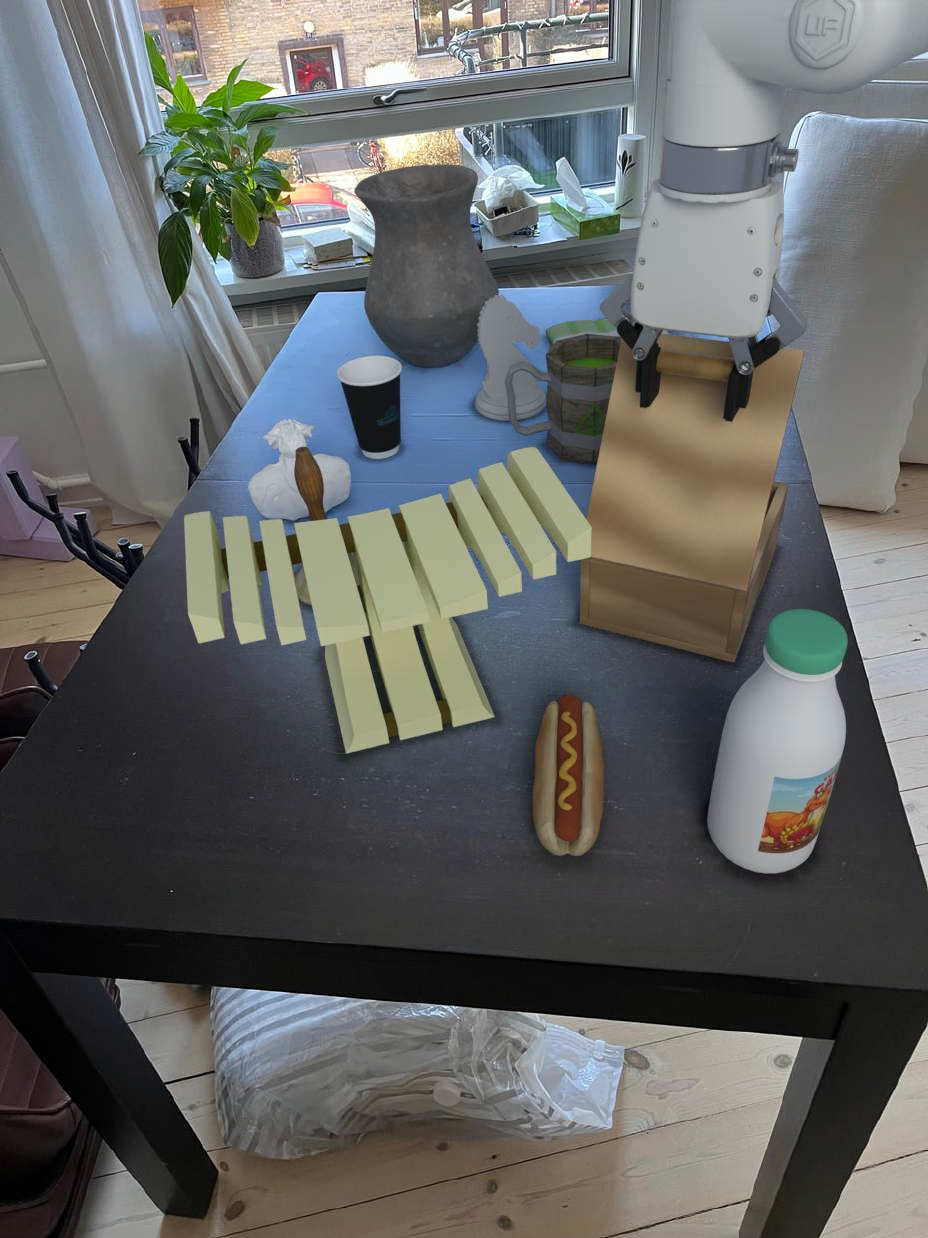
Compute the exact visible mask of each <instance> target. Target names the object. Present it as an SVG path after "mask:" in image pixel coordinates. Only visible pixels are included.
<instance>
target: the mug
mask: <svg viewBox="0 0 928 1238" xmlns="http://www.w3.org/2000/svg"><path fill="white" fill-rule="evenodd" d="M621 339H622V338H621V337H616V336H606V335H596V334H584V335H579V336H575V337H571V338H567V339H562V340H558V341H556V342H555V343H554V345H551V347H550V348H549V350H548V351H547V352H546V354H545V363H546V370H547V371H541V370H539V369H538V368H537V367H536V366H535V365H534V364H533V363H532V362H530V363H527V362H523V361H520V362H518V363H516V364H514V365H512V366H510V367H509V371H508V374H507V377H506V380H505V385H506V391H507V397H508V412H509V419H510V421H509V422H510V424H511V426H512V428H513V429H514V431H515V433H517V434H520V435H523V436H526V437H527V436H530V435H534V434H537V433H542V432H546V431H547V437H546V446H547V447H548V448H549V450H551V452H553V454H555V456H556V457H558V459H560V461H566V462H572V463H580V464H587V465H593V466H594V465H597V462H598V457H599V452H600V446H601V441H602V436H603V431H604V426H605V421H606V416H607V410H608V405H609V400H610V395H611V390H612V385H613V380H614V375H615V369H616V364H617V359H618V354H619V349H620V344H621ZM520 370H524V371H527V372H530V373H531V374H532V375H533V376H534V377H535V378H536V379H538V382H543V383H544V382H545V383H547V387H546V412H547V420H545V421H541V422H535V423H533V424H530V425H528V426H526V425H522V424H520V423H519V420H517V419H516V405H515V394H514V390H513V385H512V380H513V374H514V373H516V372H518V371H520Z"/></svg>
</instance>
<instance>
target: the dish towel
mask: <svg viewBox="0 0 928 1238" xmlns="http://www.w3.org/2000/svg"><path fill="white" fill-rule="evenodd" d="M629 313H630V314H631V310H629ZM584 334H596V335H606V336H616V337H620V335H619V334H618V333H617V328H616V327H615V326H613V325H612V324H611V323H610V321H609V320H608V319H607V318H606V317H603V318H601V319H597V320H595V319H594V320H592V319H590V320H589V319H585V320H569V321H564V322H560V323H557V324H554V325H552V326H550V327H548V328H547V329H546V330H545V335H546V338H547V340H548V342H549V343H550V344H551V346H553V345H554V343H555V342H556V341H558V340H562V339H567V338H571V337H575V336H579V335H584ZM661 334H669V335H671V333H670V332H668V330H663V332H662V333H661Z"/></svg>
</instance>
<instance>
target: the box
mask: <svg viewBox="0 0 928 1238" xmlns="http://www.w3.org/2000/svg"><path fill="white" fill-rule="evenodd" d="M789 485H790V484H789V483H787V482H779V481H776V480H774V482H773V486H772V490H771V495H770V499H769V503H768V507H767V511H766V515H765V520H764V524H763V528H762V532H761V536H760V540H759V545H758V549H757V553H756V557H755V561H754V565H753V570H752V574H751V578H750V582H749V586H748V590H747V591H743V590H739V589H734V588H730V587H725V586H721V585H716V584H712V583H707V582H703V581H698V580H694V579H689V578H685V577H680V576H675V575H671V574H666V573H662V572H657V571H653V570H648V569H644V568H639V567H635V566H630V565H626V564H621V563H617V562H612V561H608V560H603V559H599V558H594V557H590V558H585V559H581V560H580V579H579V580H580V581H579V584H580V585H579V621H578V622H579V624H580V625H583V626H587V627H591V628H596V629H599V630H603V631H607V632H610V633H615V634H618V635H622V636H627V637H631V638H635V639H638V640H642V641H646V642H650V643H653V644H658V645H663V646H666V647H670V648H674V649H678V650H682V651H686V652H690V653H694V654H698V655H701V656H706V657H710V658H714V659H717V660H722V661H725V662H729V663H733V664H734V663H735V662H736V659H737V657H738V654H739V651H740V648H741V645H742V643H743V640H744V637H745V635H746V632H747V629H748V626H749V624H750V622H751V619H752V616H753V613H754V610H755V607H756V605H757V602H758V599H759V597H760V594H761V591H762V589H763V586H764V583H765V581H766V577H767V574H768V572H769V569H770V566H771V564H772V561H773V559H774V556H775V553H776V550H777V546H778V541H779V537H780V531H781V527H782V522H783V521H782V520H783V516H784V512H785V506H786V501H787V496H788V491H789Z"/></svg>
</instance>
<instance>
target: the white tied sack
mask: <svg viewBox="0 0 928 1238" xmlns="http://www.w3.org/2000/svg"><path fill="white" fill-rule="evenodd" d="M314 429H315V426H314V425H308V424H306V423H302V422H300V421H298V420H296V419H291V418H288V419H286V418H284V419H283V420H280V421H278V422H276V423H275V424H274V426H273V427H272V429H271V430H269V431H268V432H267V433H266V434H265V435H263V436H262V439H263V440H264V441H266V442H267V443H268V445H269V446H270V447H271V446H272V450H275V451H276V450H278V452H279V453H280V454H279V457H278V462H276V463H269V464H267V465H265V466H263V468H261V470H260V471H258V472H256V473H255V474H253V475H252V477H251V478H250V480H249V481H248V484H247V488H246V489H247V491H248V493H249V496H250V500H251V502H253V504H254V506H255V509H257V511H258V512H259V513H260V514H261V515H262V516H263V517H264V518H266V519H268V520H275V519H282V520H283V519H284V520H287V521H297V520H298V519H303V518H308V517H310V516H309V511H308V508H307V505H306V503H305V502H304V500H303V499H302V497H301V495H300V493H299V491H298V488H297V485H296V481H295V475H294V467H295V459H296V452H295V451H296V449H297V448H299V447H307V448H308V443H309V442H310V441H309V439H308V438H307V437H309V438H312V437H313V433H312V432H313V431H314ZM312 456H313V457H314V459H315V460H316V462H317V464H318V465H319V467H320V470H321V474H322V478H323V484H324V495H323V507H324V511H325V514H326V513H327V512H329V511H330V510H331V509H333V508H334V507H336V506H339V505H340V504H342V503H344V502H345V501H347V500H348V498H349V497H350V493H351V489H352V473H351V466H350V464H349V463H348V462H347V461H345V459H343V458H341V457H339V456H334V455H333V456H332V455H329V454H327V453H317V454H314V455H313V454H312Z"/></svg>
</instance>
